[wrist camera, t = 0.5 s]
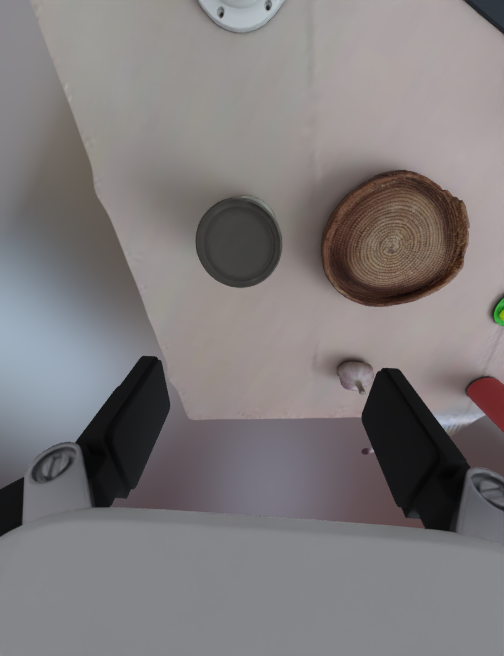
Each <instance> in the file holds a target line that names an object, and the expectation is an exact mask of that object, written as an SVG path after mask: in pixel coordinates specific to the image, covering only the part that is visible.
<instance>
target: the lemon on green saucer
mask: <svg viewBox="0 0 504 656" xmlns="http://www.w3.org/2000/svg"><path fill="white" fill-rule="evenodd" d="M494 319H495V321H496V322H497V323H498V324H499V325H501V326H504V298H503V299H502V300H501V301H500V303H499V304H498V305H497V307H496V309H495V312H494Z"/></svg>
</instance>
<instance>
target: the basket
mask: <svg viewBox="0 0 504 656" xmlns="http://www.w3.org/2000/svg"><path fill="white" fill-rule="evenodd" d="M468 229H469V219H468V215H467V210H466V206H465V204H464V202H463V201H462V200H458V198H457V197H453V196H452V195H451V194H450V193H449V191H448V190H442V188H441V187H440V186H439V185H437V184H436V183H434V182H433V181H431V180H430V179H428V178H427V177H425V176H423V175H420V174H418V173H415V172H411V171H406V170H399V171H390V172H385V173H382V174H379V175H377V176H375V177H373V178H371V179H369V180H367V181H366V182H364V183H362V184H361V185H360V186H359V187H357V188H356V189H355V190H353V191H352V192H351V193H350V194H349V195H347V196H346V197H345V198H344V199H343V200H342V202H341V203H340V204H339V205H338V207H337V208H336V209H335V211H334V212H333V214H332V215H331V217H330V219H329V221H328V224H327V226H326V229H325V231H324V234H323V239H322V245H321V256H322V261H323V267H324V271H325V274H326V277H327V278H328V279H329V281H330V282H331V284H332V285H333V286H334V287H335V289H336V290H337V291H338V292H339V293H340V294H342V295H343V296H344V297H346V298H348V299H350V300H352V301H354V302H357V303H359V304H362V305H365V306H374V307H383V306H392V305H398V304H403V303H408V302H413V301H416V300H418V299H420V298H423V297H425V296H428V295H430V294H432V293H434V292H436V291H438V290H440V289H441V288H443V287H444V286H446V285H447V284H448V283H449V282H450V281H452V280H453V279H454V278H455V277H456V275H457V274H458V273H459V272H460V271H461V269H462V267H463V264H464V254H465V253H466V248H467V246H468V238H469V231H468Z"/></svg>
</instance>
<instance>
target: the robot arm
mask: <svg viewBox="0 0 504 656" xmlns="http://www.w3.org/2000/svg"><path fill="white" fill-rule="evenodd" d="M198 1H199V3H200V5H201V7H202V8H203V9H204V11H205V12H206V13H207V15H208V16H209V17H210V18H211V19H212V20H213V21H214V22H215V23H216V24H218V25H219V26H221V27H223V28H224V29H226V30H229V31H233V32H249V31H253V30H256V29H258V28H259V27H261V26H263V25H264V24H266V23H267V22H268V21H269V20H270V19H271V18H272V17H273V16H274V15H275V14H276V12H277V11H278V10H279V8H280V7H281V5H282V4H283V2H284V0H198ZM267 7H269V8H270V10H269V11H266V8H267ZM221 14H223V15H224V16H223V17H222V18H220V15H221ZM169 410H170V401H169V396H168V391H167V386H166V381H165V377H164V371H163V366H162V362H161V360H158V358H157V357H155V356H142V357H141V358H140V359H139V361H138V362H137V363H136V365H135V366H134V367H133V369H132V370H131V371H130V373H129V374H128V375H127V377H126V378H125V380H124V381H123V382H122V383H121V385H120V386H118V387H117V388H116V389H115V390H114V392H113V393H112V394H111V396H110V397H109V398H108V400H107V401H106V402H105V404H104V405H103V406H102V408H101V409H100V410H99V412H98V413H97V414H96V416H95V417H94V418H93V420H92V421H91V422H90V424H89V425H88V426H87V428H86V429H85V430H84V432H83V433H82V434H81V435H80V437H79V438H78V439H77V441H76V442H75V443H73V442H64V443H60V444H57V445H54V446H52V447H50V448H48V449H46V450H45V451H43V452H42V453H41V454H39V455H38V456H37V457H36V458H35V459H34V460H33V461H32V462H31V463H30V465H29V466H28V468H27V470H26V473H25V477H23V478H21V479H19V480H17V481H15V482H13V483H11V484H10V485H8V486H6V487H4V488H2V489H0V656H504V477H502V476H501V475H499V474H497V473H495V472H493V471H491V470H488V469H484V468H480V467H473V468H471V467H470V466H469V465H468V464H467V462H466V459H465V458H464V456H463V455H462V453H461V452H460V451H459V449H458V448H457V447H456V445H455V444H454V443H453V441H452V440H451V439H450V437H449V436H448V434H447V433H446V432H445V430H444V429H443V428H442V426H441V425H440V424H439V422H438V421H437V420H436V418H435V417H434V416H433V414H432V413H431V411H430V410H429V409H428V407H427V406H426V405H425V403H424V402H423V401H422V399H421V398H420V397H419V395H418V394H417V393H416V391H415V390H414V388H413V387H412V386H411V384H410V383H409V382H408V380H407V379H406V378H405V376H404V375H403V374H402V372H401V371H400V370H399V369H395V368H383V369H381V371H378V372H377V374H376V376H375V379H374V382H373V385H372V388H371V390H370V393H369V396H368V399H367V401H366V404H365V407H364V410H363V412H362V423H363V425H364V428H365V430H366V432H367V435H368V437H369V440H370V442H371V445H372V447H373V450H374V452H375V454H376V457H377V459H378V461H379V464H380V466H381V469H382V471H383V474H384V476H385V479H386V481H387V483H388V486H389V488H390V491H391V493H392V495H393V498H394V500H395V502H396V504H397V506H398V507H401V508H402V510H403V513H404V515H405V517H406V518H417V519H421V520H422V523H423V525H424V527H425V529H421V528H410V527H400V526H389V525H376V524H362V523H349V522H336V521H323V520H309V519H295V518H281V517H266V516H251V515H238V514H223V513H207V512H192V511H176V510H161V509H139V508H138V509H137V508H117V507H110V505H112V503H113V501H114V499H115V498H127V497H128V495H129V492H130V490H131V489H134V488H135V487H136V486H137V484H138V481H139V479H140V477H141V475H142V472H143V470H144V468H145V465H146V463H147V461H148V459H149V456H150V454H151V452H152V449H153V447H154V445H155V442H156V440H157V438H158V436H159V433H160V431H161V429H162V426H163V424H164V422H165V419H166V417H167V415H168V413H169Z"/></svg>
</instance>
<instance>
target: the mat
mask: <svg viewBox="0 0 504 656" xmlns="http://www.w3.org/2000/svg"><path fill="white" fill-rule="evenodd" d="M465 1H466V2H467V3H468V4H469V5H471V6H472V7H473V8H474V9H475V10H476V11H478V12H479V13H480V14H481V15H482V16H484V17H485V18H486V19H487V20H488V21H489V22H491V23H492V24H493V25H494V26H495V27H497V28H498V29H499V30H500V31H501V32H502V33H504V0H465Z"/></svg>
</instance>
